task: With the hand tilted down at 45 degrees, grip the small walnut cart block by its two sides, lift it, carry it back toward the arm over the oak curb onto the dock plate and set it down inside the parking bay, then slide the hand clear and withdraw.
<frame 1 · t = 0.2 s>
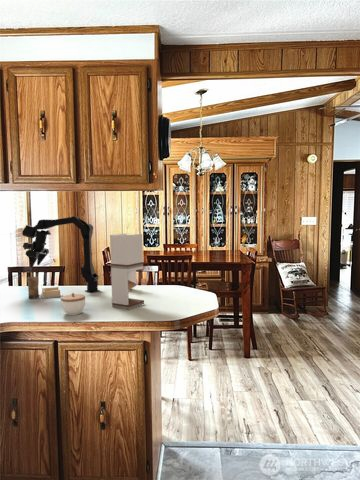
hand: (34, 266, 215), 15 cm above the table, tool tilted 15°, fingers open, 9 cm apart
lidded jar: (73, 313, 167), on the table
coffee grinder: (128, 306, 179), on the table
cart: (33, 297, 201), on the table
dock: (58, 294, 207), on the table
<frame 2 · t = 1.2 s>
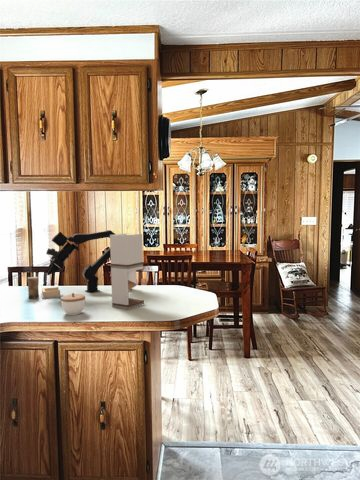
hand: (46, 273, 204), 13 cm above the table, tool tilted 45°, fingers open, 9 cm apart
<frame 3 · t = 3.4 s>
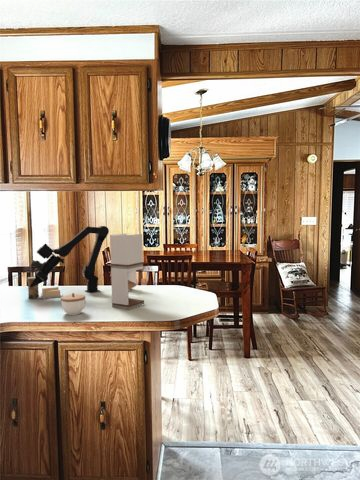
hand: (30, 285, 200), 7 cm above the table, tool tilted 45°, fingers closed on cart, 5 cm apart
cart: (33, 297, 201), on the table, touching gripper
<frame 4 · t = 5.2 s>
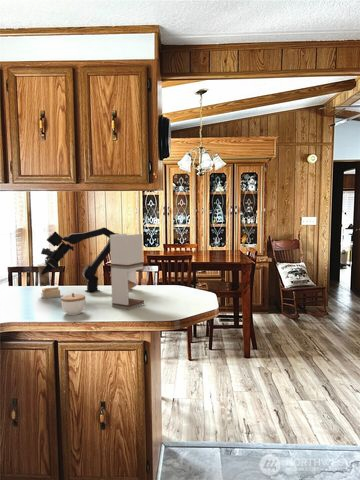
hand: (41, 273, 202), 13 cm above the table, tool tilted 45°, fingers closed on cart, 5 cm apart
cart: (44, 284, 203), point 6 cm above the table, touching gripper
everything else where it was.
when the fingers open (7 cm above the table, at t = 6.9 s): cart stays where it is, resting on dock.
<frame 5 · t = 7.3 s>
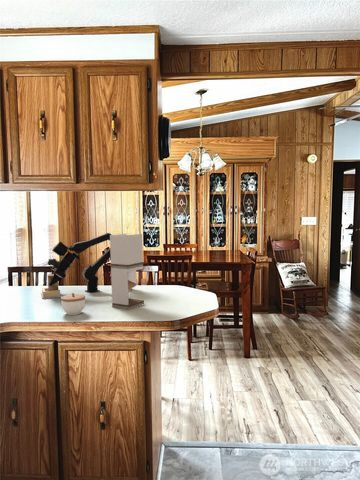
hand: (49, 283, 204), 7 cm above the table, tool tilted 40°, fingers open, 9 cm apart
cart: (53, 294, 206), point 1 cm above the table, touching dock
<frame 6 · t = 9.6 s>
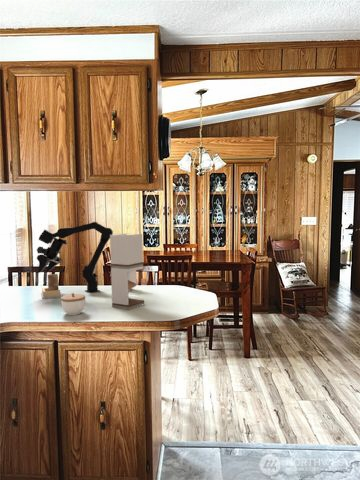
hand: (43, 272, 211), 12 cm above the table, tool tilted 30°, fingers open, 9 cm apart
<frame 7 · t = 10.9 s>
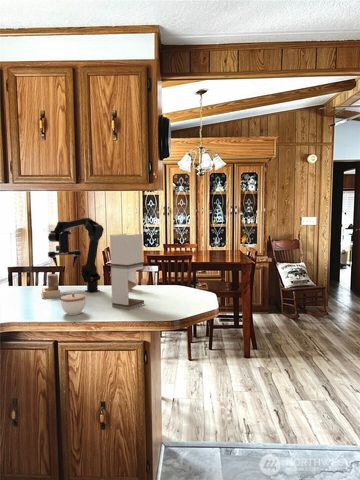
hand: (65, 267, 223), 13 cm above the table, tool pointing down, fingers open, 9 cm apart
nothing on the table moved.
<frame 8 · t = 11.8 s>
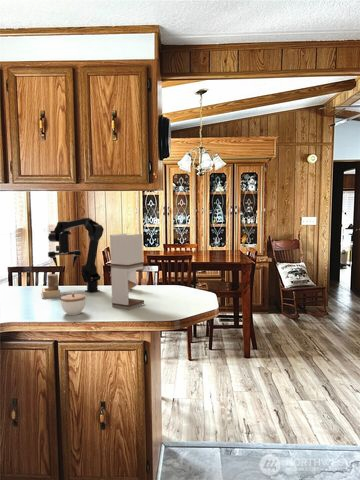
hand: (65, 267, 223), 13 cm above the table, tool pointing down, fingers open, 9 cm apart
nothing on the table moved.
at the end: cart 0.9 cm from the target spot, point 0.6 cm above the table; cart tilted 0°; the gripper is holding nothing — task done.
